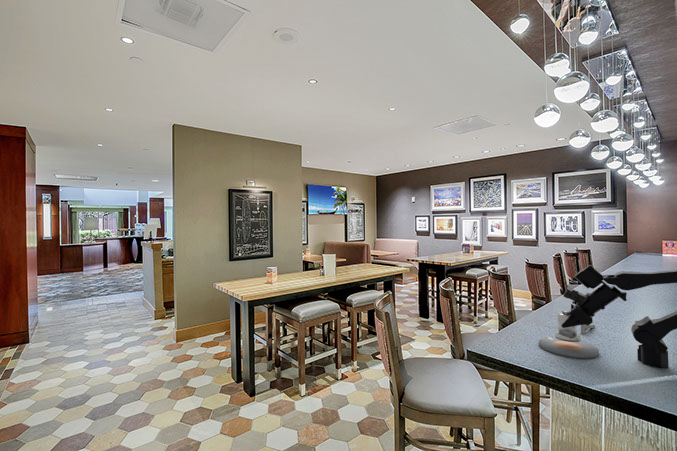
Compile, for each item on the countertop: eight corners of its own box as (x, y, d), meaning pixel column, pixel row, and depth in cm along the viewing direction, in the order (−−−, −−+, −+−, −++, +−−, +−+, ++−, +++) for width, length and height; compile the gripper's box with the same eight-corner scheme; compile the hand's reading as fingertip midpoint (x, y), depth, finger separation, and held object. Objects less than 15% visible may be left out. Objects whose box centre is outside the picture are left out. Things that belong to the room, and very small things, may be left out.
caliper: (584, 337, 131) (583, 322, 131) (580, 336, 132) (580, 322, 132) (595, 327, 144) (594, 313, 145) (592, 326, 145) (591, 313, 145)
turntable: (612, 355, 109) (612, 352, 109) (568, 360, 106) (568, 357, 106) (566, 338, 127) (566, 335, 127) (527, 342, 123) (527, 339, 123)
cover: (586, 341, 113) (584, 313, 113) (568, 343, 112) (567, 314, 112) (567, 334, 120) (566, 308, 121) (550, 336, 119) (549, 309, 119)
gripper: (578, 277, 122) (545, 302, 128) (578, 285, 107) (541, 312, 113) (606, 300, 117) (570, 325, 123) (610, 311, 102) (569, 338, 108)
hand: (562, 324), depth 117 cm, fingers closed on cover, 6 cm apart
